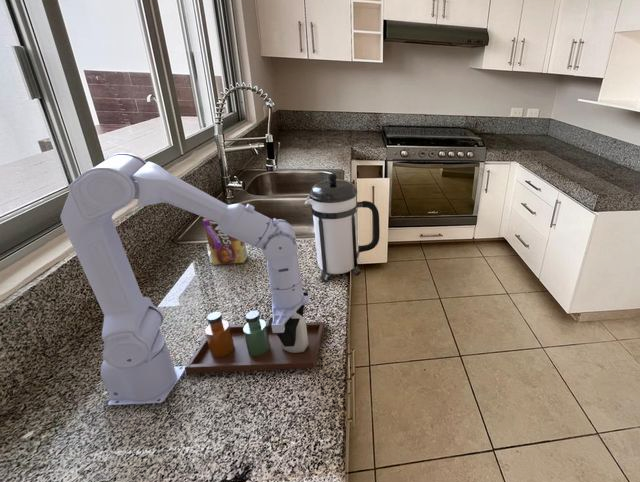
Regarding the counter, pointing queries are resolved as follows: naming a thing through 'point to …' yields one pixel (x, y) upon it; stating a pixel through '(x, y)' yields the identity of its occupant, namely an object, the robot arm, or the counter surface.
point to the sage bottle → (256, 334)
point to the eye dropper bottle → (298, 336)
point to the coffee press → (338, 226)
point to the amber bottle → (218, 335)
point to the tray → (267, 361)
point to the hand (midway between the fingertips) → (293, 335)
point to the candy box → (223, 245)
